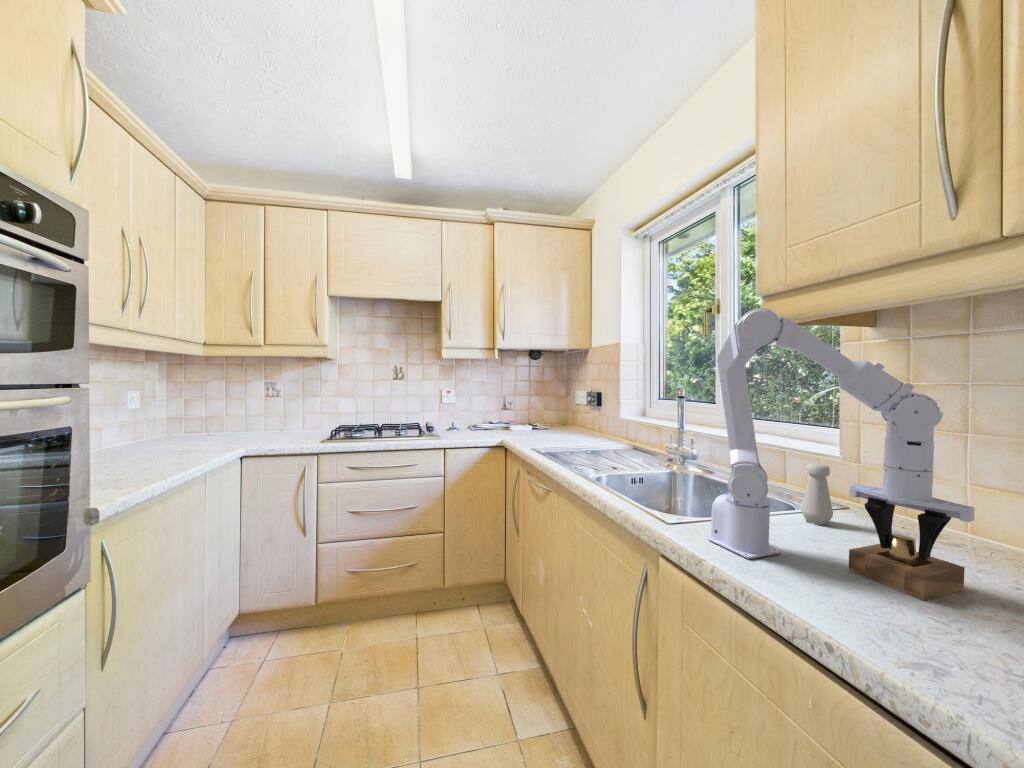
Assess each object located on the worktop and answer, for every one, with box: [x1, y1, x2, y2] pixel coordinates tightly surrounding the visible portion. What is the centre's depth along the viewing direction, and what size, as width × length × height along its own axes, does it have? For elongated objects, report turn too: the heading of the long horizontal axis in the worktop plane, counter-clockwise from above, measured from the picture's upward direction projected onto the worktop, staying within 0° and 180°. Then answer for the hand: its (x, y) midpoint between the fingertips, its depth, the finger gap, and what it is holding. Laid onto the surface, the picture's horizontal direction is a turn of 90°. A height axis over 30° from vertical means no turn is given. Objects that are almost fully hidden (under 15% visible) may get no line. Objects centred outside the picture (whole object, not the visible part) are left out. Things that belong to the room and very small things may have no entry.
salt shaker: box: [800, 462, 834, 526], centre depth 93 cm, size 6×6×13 cm
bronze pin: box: [888, 533, 917, 567], centre depth 67 cm, size 3×3×6 cm
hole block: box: [848, 543, 966, 602], centre depth 67 cm, size 10×10×4 cm
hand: (904, 552), depth 67 cm, fingers open, 4 cm apart
